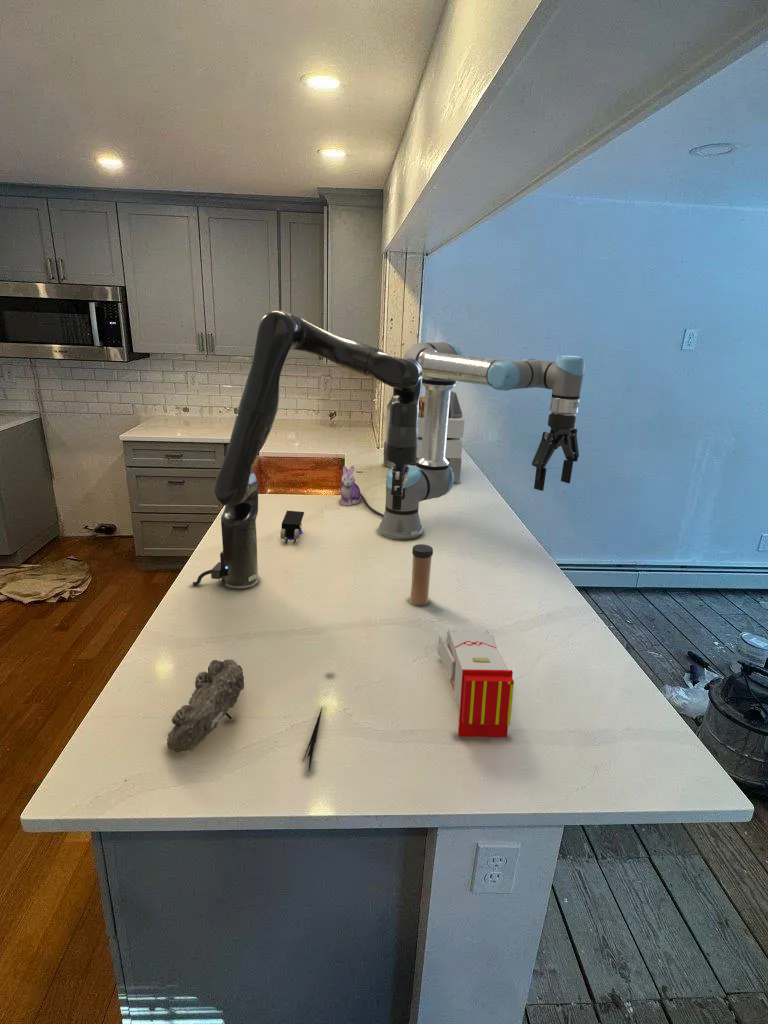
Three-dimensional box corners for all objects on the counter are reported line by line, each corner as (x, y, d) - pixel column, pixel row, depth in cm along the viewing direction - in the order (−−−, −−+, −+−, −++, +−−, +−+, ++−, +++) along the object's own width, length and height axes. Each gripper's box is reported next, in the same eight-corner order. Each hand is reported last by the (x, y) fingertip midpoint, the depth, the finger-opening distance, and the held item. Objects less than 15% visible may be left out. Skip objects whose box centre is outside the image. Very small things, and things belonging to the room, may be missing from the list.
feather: (331, 679, 122) (336, 673, 122) (307, 777, 96) (313, 769, 95) (324, 675, 122) (329, 669, 121) (298, 772, 95) (304, 764, 95)
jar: (418, 595, 158) (422, 544, 153) (431, 602, 154) (435, 550, 149) (406, 600, 155) (409, 548, 149) (419, 607, 151) (422, 555, 146)
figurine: (344, 507, 223) (345, 470, 218) (334, 499, 232) (334, 463, 227) (366, 504, 228) (367, 468, 223) (355, 496, 236) (356, 461, 231)
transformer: (382, 463, 289) (386, 382, 275) (445, 464, 293) (451, 384, 279) (390, 482, 257) (394, 392, 243) (460, 483, 261) (468, 394, 247)
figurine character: (300, 550, 186) (305, 528, 199) (299, 529, 183) (304, 509, 196) (279, 549, 186) (286, 528, 199) (278, 529, 182) (285, 508, 196)
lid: (422, 548, 153) (422, 542, 153) (436, 554, 150) (437, 549, 149) (407, 553, 150) (408, 547, 149) (422, 560, 146) (423, 554, 146)
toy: (488, 613, 130) (523, 677, 101) (484, 667, 133) (517, 744, 104) (435, 612, 130) (455, 676, 101) (432, 666, 133) (451, 743, 103)
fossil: (192, 660, 117) (244, 628, 112) (224, 691, 120) (276, 661, 115) (142, 746, 98) (202, 712, 93) (182, 779, 101) (242, 748, 96)
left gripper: (391, 435, 147) (387, 494, 152) (383, 447, 134) (379, 512, 139) (419, 437, 146) (415, 497, 152) (414, 450, 133) (410, 514, 138)
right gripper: (548, 419, 148) (537, 496, 155) (598, 411, 163) (586, 482, 171) (525, 414, 153) (515, 489, 160) (575, 407, 169) (564, 476, 176)
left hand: (398, 504), depth 145 cm, fingers open, 8 cm apart
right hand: (552, 485), depth 166 cm, fingers open, 13 cm apart
